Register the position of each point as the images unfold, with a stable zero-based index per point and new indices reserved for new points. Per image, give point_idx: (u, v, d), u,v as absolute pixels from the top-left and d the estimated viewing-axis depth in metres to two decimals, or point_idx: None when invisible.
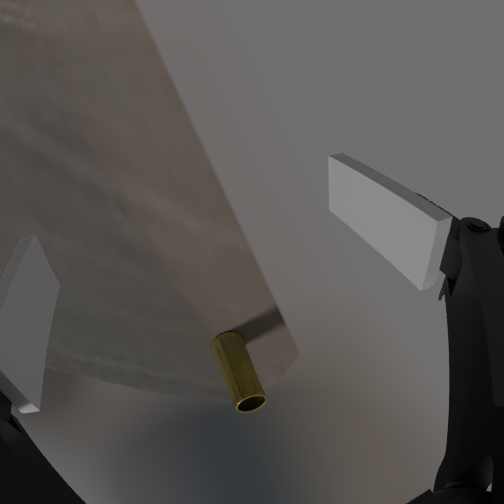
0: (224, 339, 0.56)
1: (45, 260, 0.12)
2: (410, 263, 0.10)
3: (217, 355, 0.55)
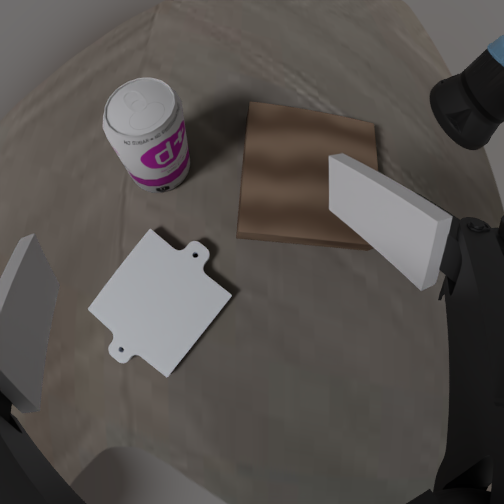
0: None
1: (45, 260, 0.12)
2: (410, 263, 0.10)
3: None
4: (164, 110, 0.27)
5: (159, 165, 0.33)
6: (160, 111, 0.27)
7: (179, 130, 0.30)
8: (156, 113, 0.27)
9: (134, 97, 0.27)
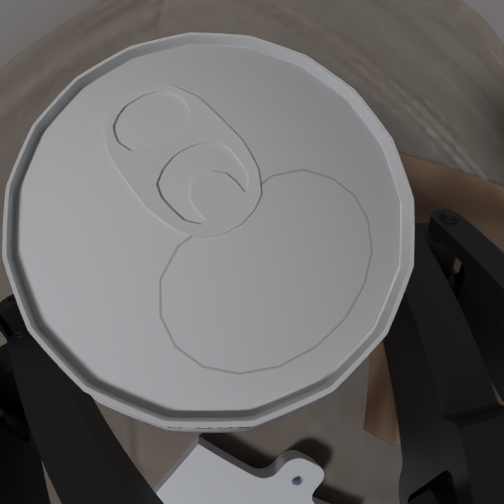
0: None
1: None
2: None
3: None
4: (368, 234, 0.05)
5: None
6: (349, 237, 0.05)
7: None
8: (331, 252, 0.05)
9: (174, 128, 0.05)
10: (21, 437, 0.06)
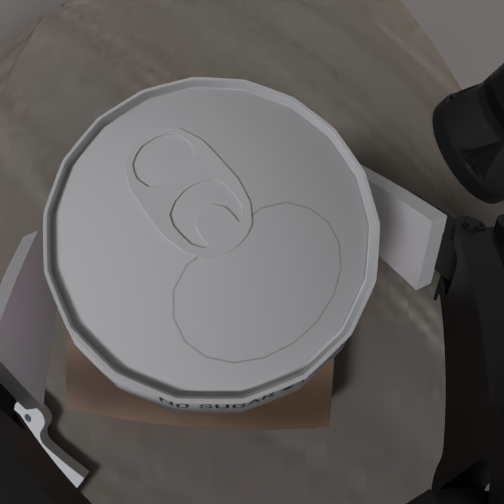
0: None
1: None
2: (405, 262, 0.10)
3: None
4: (338, 254, 0.06)
5: None
6: (322, 257, 0.06)
7: None
8: (307, 269, 0.06)
9: (182, 167, 0.06)
10: None
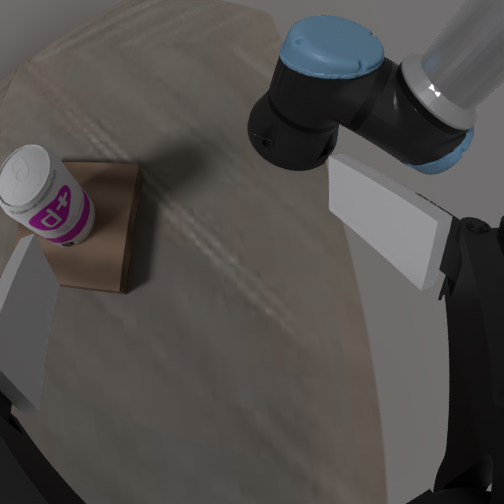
0: None
1: (45, 260, 0.12)
2: (410, 263, 0.10)
3: None
4: (40, 179, 0.26)
5: (50, 228, 0.31)
6: (37, 180, 0.26)
7: (59, 196, 0.28)
8: (34, 183, 0.26)
9: (20, 166, 0.26)
10: None
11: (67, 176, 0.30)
